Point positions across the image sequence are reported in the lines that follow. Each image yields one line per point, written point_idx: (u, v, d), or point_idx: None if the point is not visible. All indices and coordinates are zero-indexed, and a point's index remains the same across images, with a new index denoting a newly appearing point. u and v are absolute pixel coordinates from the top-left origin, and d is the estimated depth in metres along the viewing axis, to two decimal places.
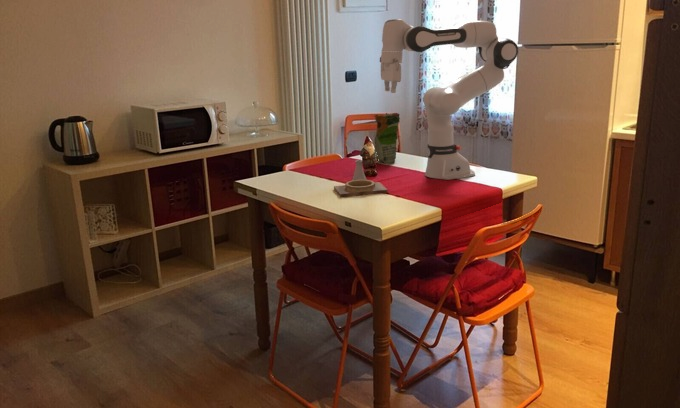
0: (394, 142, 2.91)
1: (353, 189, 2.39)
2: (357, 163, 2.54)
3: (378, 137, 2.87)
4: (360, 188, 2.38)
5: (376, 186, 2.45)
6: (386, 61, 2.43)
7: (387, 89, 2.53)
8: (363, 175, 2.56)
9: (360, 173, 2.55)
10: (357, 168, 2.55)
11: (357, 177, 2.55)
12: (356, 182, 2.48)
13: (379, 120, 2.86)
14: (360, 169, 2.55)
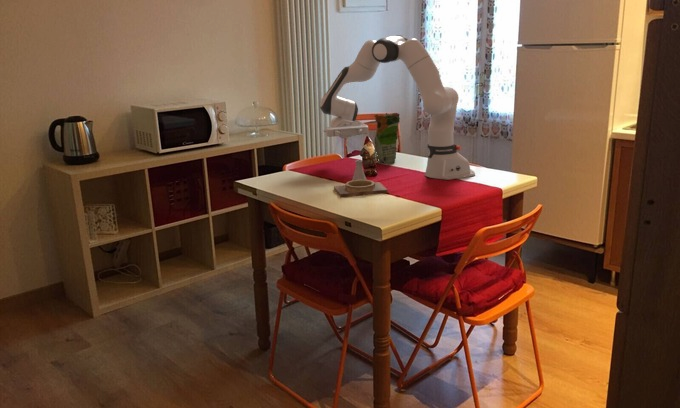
0: (394, 142, 2.91)
1: (353, 189, 2.39)
2: (357, 163, 2.54)
3: (378, 137, 2.87)
4: (360, 188, 2.38)
5: (376, 186, 2.45)
6: (338, 135, 2.79)
7: (358, 132, 2.68)
8: (363, 175, 2.56)
9: (360, 173, 2.55)
10: (357, 168, 2.55)
11: (357, 177, 2.55)
12: (356, 182, 2.48)
13: (379, 120, 2.86)
14: (360, 169, 2.55)
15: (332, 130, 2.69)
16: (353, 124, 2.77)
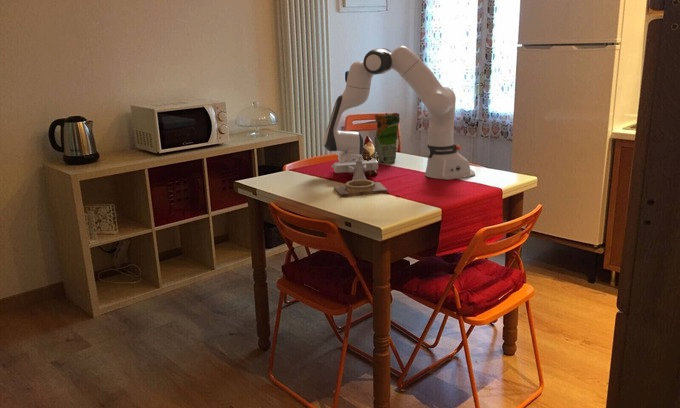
0: (394, 142, 2.91)
1: (353, 189, 2.39)
2: (357, 163, 2.54)
3: (378, 137, 2.87)
4: (360, 188, 2.38)
5: (376, 186, 2.45)
6: None
7: None
8: (363, 175, 2.56)
9: (360, 173, 2.55)
10: (357, 168, 2.55)
11: (357, 177, 2.55)
12: (356, 182, 2.48)
13: (379, 120, 2.86)
14: (360, 169, 2.55)
15: (340, 166, 2.58)
16: (362, 159, 2.66)
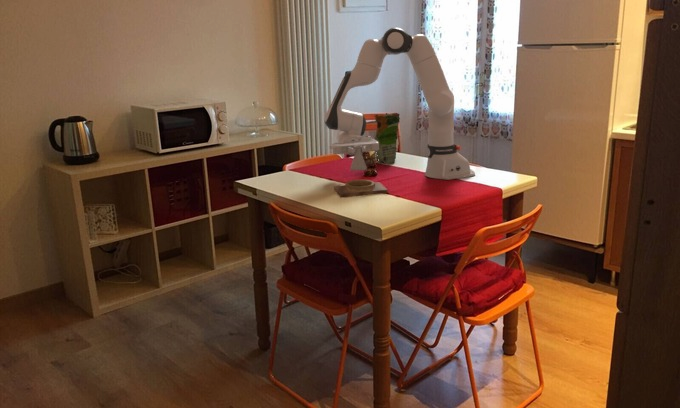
0: (394, 142, 2.91)
1: (353, 189, 2.39)
2: (356, 148, 2.42)
3: (378, 137, 2.87)
4: (360, 188, 2.38)
5: (376, 186, 2.45)
6: None
7: (361, 150, 2.43)
8: (363, 161, 2.43)
9: (359, 159, 2.42)
10: (356, 154, 2.42)
11: (356, 163, 2.42)
12: (356, 182, 2.48)
13: (378, 120, 2.86)
14: (360, 155, 2.42)
15: (339, 147, 2.45)
16: (362, 140, 2.52)
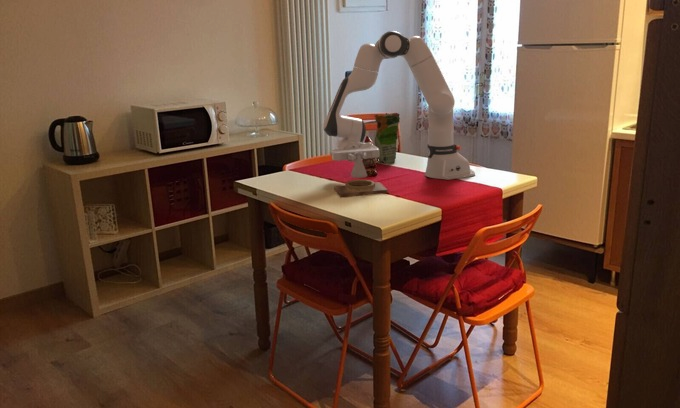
0: (394, 142, 2.91)
1: (353, 189, 2.39)
2: (357, 155, 2.39)
3: (378, 137, 2.87)
4: (360, 188, 2.38)
5: (376, 186, 2.45)
6: None
7: (362, 157, 2.40)
8: (363, 168, 2.40)
9: (360, 166, 2.39)
10: (357, 161, 2.39)
11: (357, 170, 2.40)
12: (356, 182, 2.48)
13: (378, 120, 2.86)
14: (360, 162, 2.39)
15: (339, 154, 2.42)
16: (362, 146, 2.49)
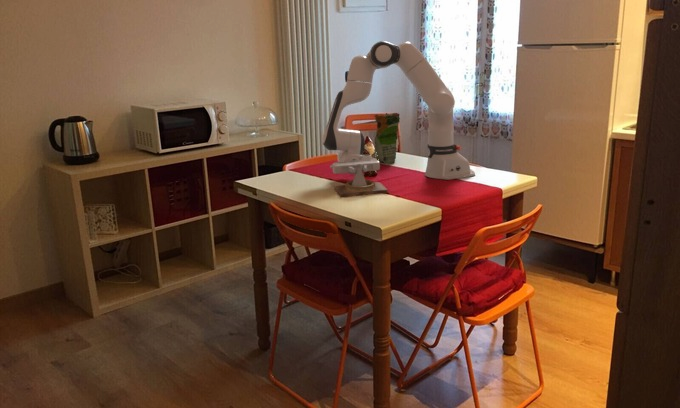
0: (394, 142, 2.91)
1: (353, 189, 2.39)
2: (357, 167, 2.40)
3: (378, 137, 2.87)
4: (360, 188, 2.38)
5: (376, 186, 2.45)
6: None
7: (362, 170, 2.42)
8: (363, 180, 2.42)
9: (360, 177, 2.41)
10: (357, 172, 2.41)
11: (357, 182, 2.41)
12: None
13: (379, 120, 2.86)
14: (360, 173, 2.41)
15: (340, 167, 2.44)
16: (363, 159, 2.51)
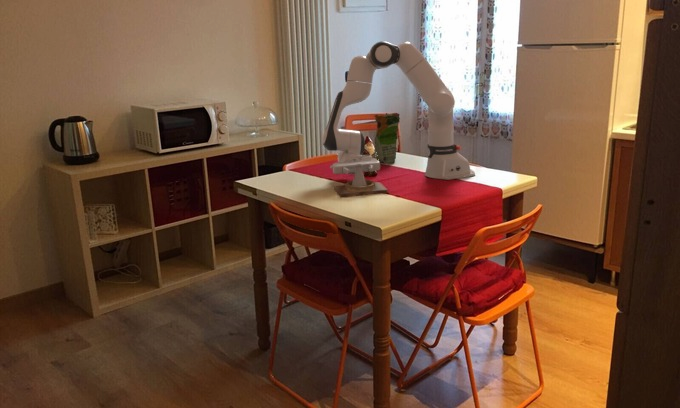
0: (394, 142, 2.91)
1: (353, 189, 2.39)
2: (357, 167, 2.40)
3: (378, 137, 2.87)
4: (360, 188, 2.38)
5: (376, 186, 2.45)
6: None
7: (369, 169, 2.42)
8: (363, 180, 2.42)
9: (360, 177, 2.41)
10: (357, 172, 2.41)
11: (357, 182, 2.41)
12: None
13: (378, 120, 2.86)
14: (360, 173, 2.41)
15: (340, 167, 2.44)
16: (363, 159, 2.51)
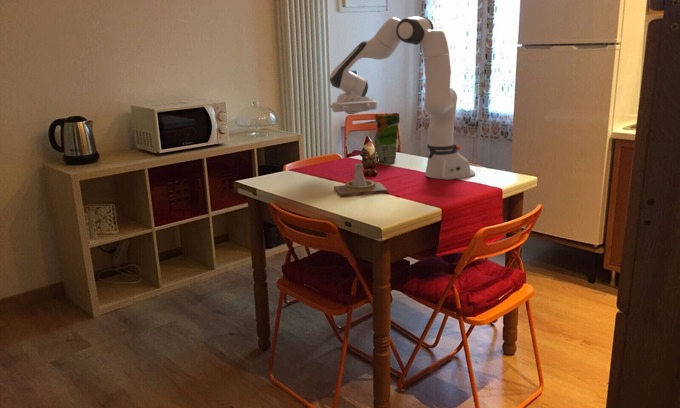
0: (394, 142, 2.91)
1: (353, 189, 2.39)
2: (357, 167, 2.40)
3: (378, 137, 2.87)
4: (360, 188, 2.38)
5: (376, 186, 2.45)
6: (345, 111, 2.68)
7: (366, 107, 2.57)
8: (363, 180, 2.42)
9: (360, 177, 2.41)
10: (357, 172, 2.41)
11: (357, 182, 2.41)
12: None
13: (378, 120, 2.86)
14: (360, 173, 2.41)
15: (339, 105, 2.59)
16: (360, 99, 2.66)
